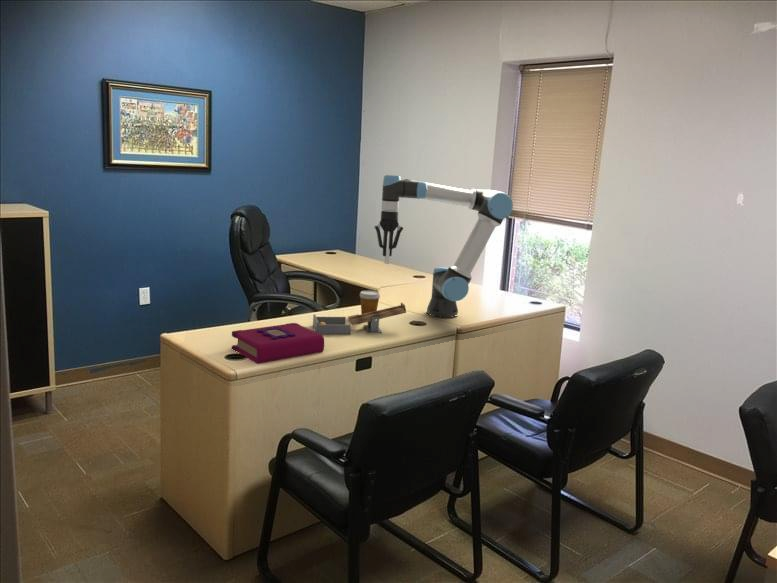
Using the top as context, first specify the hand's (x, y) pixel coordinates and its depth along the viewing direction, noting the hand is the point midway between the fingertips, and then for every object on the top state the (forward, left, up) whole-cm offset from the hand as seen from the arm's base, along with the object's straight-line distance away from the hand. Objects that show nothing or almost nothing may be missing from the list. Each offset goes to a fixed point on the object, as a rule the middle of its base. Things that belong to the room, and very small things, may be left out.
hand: (386, 263), depth 290 cm
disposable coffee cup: (+6, -4, -27) cm, 28 cm away
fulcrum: (+8, +16, -26) cm, 32 cm away
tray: (+26, +16, -26) cm, 40 cm away
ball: (+30, +16, -25) cm, 42 cm away
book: (+50, +44, -27) cm, 72 cm away
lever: (+6, +13, -21) cm, 25 cm away
